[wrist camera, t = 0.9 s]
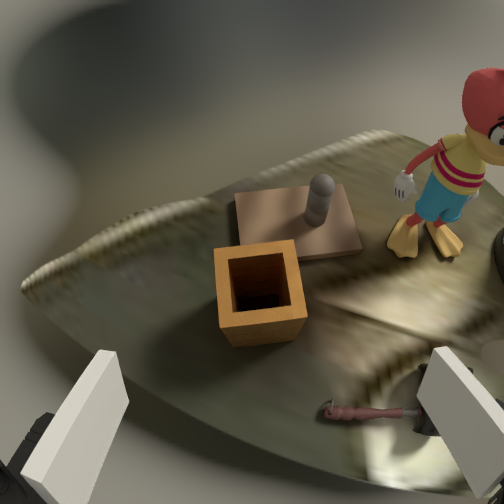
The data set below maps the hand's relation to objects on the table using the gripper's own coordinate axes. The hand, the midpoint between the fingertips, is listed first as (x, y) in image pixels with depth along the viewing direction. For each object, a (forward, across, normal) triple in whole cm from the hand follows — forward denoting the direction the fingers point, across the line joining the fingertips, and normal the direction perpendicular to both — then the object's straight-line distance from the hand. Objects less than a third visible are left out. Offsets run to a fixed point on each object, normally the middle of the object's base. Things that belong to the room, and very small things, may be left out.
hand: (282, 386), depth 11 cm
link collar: (+25, 0, -10) cm, 27 cm away
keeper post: (+33, +5, 0) cm, 33 cm away
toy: (+32, +25, 0) cm, 41 cm away
